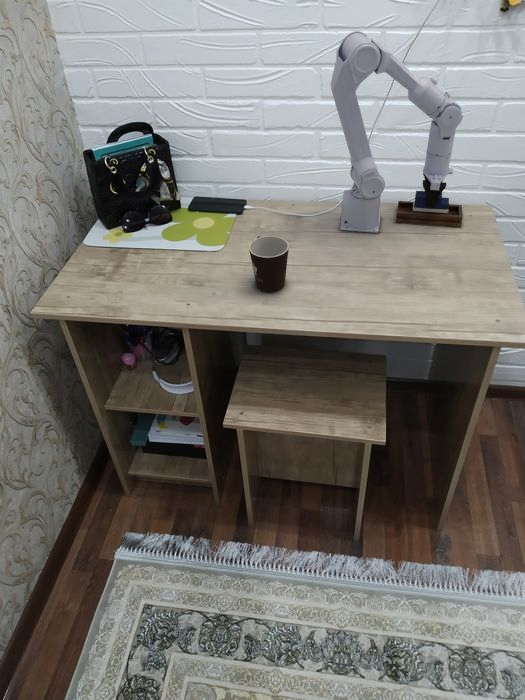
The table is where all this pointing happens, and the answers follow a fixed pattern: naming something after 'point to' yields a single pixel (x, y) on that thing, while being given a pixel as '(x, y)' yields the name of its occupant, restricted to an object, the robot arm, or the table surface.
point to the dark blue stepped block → (421, 206)
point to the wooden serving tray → (429, 216)
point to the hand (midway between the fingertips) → (430, 203)
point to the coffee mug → (269, 262)
